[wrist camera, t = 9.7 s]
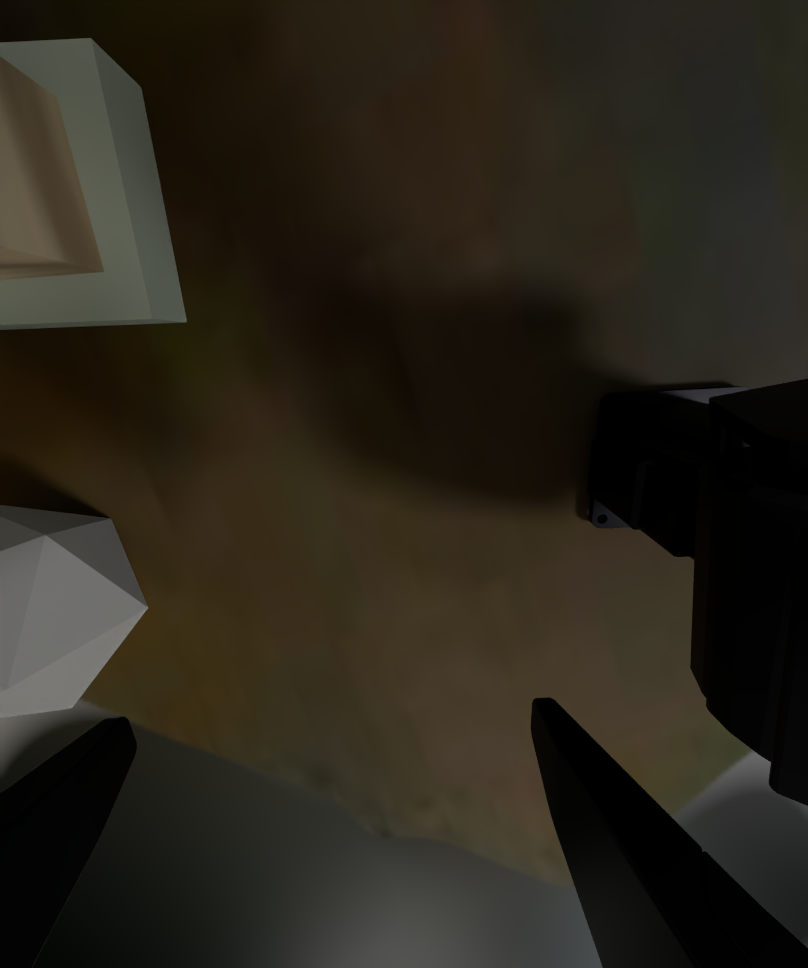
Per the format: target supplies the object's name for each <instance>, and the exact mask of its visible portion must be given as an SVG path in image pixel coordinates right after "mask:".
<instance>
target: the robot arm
mask: <svg viewBox="0 0 808 968" xmlns="http://www.w3.org/2000/svg"><path fill="white" fill-rule="evenodd" d="M613 400H616V401H617V405H616V407H615V408H614V409H610V403H611V402H612V401H613ZM587 491H588V493H589V494H590V495H591V498H590V507H589V521H590V522H591V523H592V524H593V525H594V526H595V527H597V528H621V527H631V528H632V529H634V530H641V531H642V532H644V533H645V534H646V535H648V536H649V537H650V538H651V539H653V540H654V541H655V542H656V543H658V544H659V545H660V546H662V547H663V548H664V549H665V550H667V551H668V552H669V553H671V554H672V555H673V556H676V557H686V556H689V557H690V558H692V559H693V560H694V585H693V610H692V636H691V666H690V668H691V670H692V672H693V674H694V677H695V679H696V681H697V683H698V685H699V687H700V689H701V692H702V693H703V695H704V696H705V697H706V707H707V709H708V710H709V712H710V713H711V714H712V715H713V716H714V717H715V718H716V719H717V720H718V721H719V722H720V723H721V724H722V725H723V726H724V727H725V728H726V729H727V730H728V731H729V732H730V733H731V734H733V735H734V736H735V737H737V738H738V739H739V740H741V741H742V742H743V743H744V744H746V745H747V746H748V747H750V748H751V749H752V750H754V751H755V752H756V753H758V754H759V755H761V756H762V757H764V758H765V759H767V760H768V761H770V762H771V768H770V775H769V785H770V786H771V788H772V789H773V790H774V791H775V792H776V793H778V794H780V795H782V796H785V797H788V798H790V799H792V800H795V801H798V802H800V803H802V804H805V805H807V806H808V379H804V380H798V381H793V382H788V383H783V384H777V385H772V386H767V387H762V388H756V389H751V390H750V389H749V388H746V387H739V386H729V387H710V388H690V389H671V390H652V391H633V392H614V393H609V394H607V395H605V396H604V397H603V398H602V400H601V403H600V410H599V419H598V429H597V438H596V439H595V440H594V441H593V442H592V447H591V457H590V467H589V477H588V487H587ZM602 514H604V517H603V518H602V519H601V520H599V521H598V520H597V518H598V516H600V515H602ZM531 734H532V739H533V743H534V748H535V752H536V756H537V760H538V764H539V768H540V773H541V777H542V781H543V785H544V789H545V793H546V797H547V802H548V806H549V809H550V813H551V817H552V820H553V823H554V827H555V830H556V833H557V836H558V839H559V842H560V844H561V847H562V850H563V853H564V856H565V859H566V862H567V865H568V868H569V871H570V874H571V876H572V879H573V882H574V885H575V888H576V891H577V894H578V897H579V899H580V902H581V906H582V908H583V911H584V914H585V917H586V920H587V923H588V926H589V929H590V931H591V935H592V937H593V940H594V943H595V946H596V949H597V952H598V955H599V958H600V961H601V963H602V967H603V968H808V948H807V947H806V946H805V945H803V944H802V943H801V942H800V941H799V940H798V939H797V938H796V937H794V935H792V934H791V933H790V932H789V931H788V930H787V929H786V928H785V927H784V926H782V925H781V924H780V923H779V922H778V921H777V920H776V919H775V918H774V917H773V916H772V915H771V914H769V913H768V912H767V911H766V910H765V909H764V908H763V907H762V906H761V905H759V903H758V902H757V901H756V900H755V899H754V898H752V897H751V896H750V895H749V894H748V893H747V892H746V891H745V890H744V889H743V888H742V887H741V886H740V885H739V884H738V883H737V882H736V881H735V880H734V879H733V878H732V877H731V876H730V875H729V874H728V873H727V872H726V871H725V870H724V869H723V868H722V867H721V866H720V865H719V864H718V863H717V862H716V861H715V860H714V859H713V858H712V857H711V856H710V855H709V854H708V853H707V852H705V851H704V852H702V848H701V846H700V845H698V843H697V842H695V840H694V839H693V838H692V837H691V836H690V835H689V834H687V832H685V830H684V829H683V828H682V827H681V826H680V825H679V824H678V823H677V822H676V821H675V820H674V819H673V818H672V817H671V816H670V815H669V814H668V813H667V812H666V811H665V810H664V809H663V808H662V807H661V806H660V805H659V804H658V803H657V802H656V801H655V800H654V799H653V798H652V797H651V796H650V795H649V794H648V793H647V792H646V791H645V790H644V789H643V788H642V787H641V786H640V785H639V784H638V783H637V782H636V781H635V780H634V779H633V778H632V777H631V776H630V775H629V774H628V773H627V772H626V771H625V770H624V769H623V768H622V767H621V766H620V765H619V764H618V763H617V762H616V761H615V760H614V759H613V758H612V757H611V756H610V755H609V754H608V753H607V752H606V751H605V750H604V749H603V748H602V747H601V746H600V745H599V744H598V743H597V742H596V741H595V740H594V739H593V738H592V737H591V736H590V735H589V734H588V733H587V732H586V731H585V730H584V729H583V728H582V727H581V726H580V725H579V724H578V723H577V722H576V721H575V720H574V719H573V718H572V717H571V716H570V715H569V714H568V713H567V712H566V711H565V710H564V709H563V708H562V707H561V706H560V705H559V704H558V703H557V702H556V701H555V700H554V699H552V698H535V699H534V700H533V702H532V715H531ZM136 749H137V743H136V739H135V737H134V734H133V731H132V728H131V725H130V722H129V720H128V719H127V718H126V717H108V718H105V719H103V720H102V721H100V722H99V723H97V724H96V725H95V726H93V727H92V728H90V729H89V730H87V731H86V732H85V733H84V734H82V735H80V736H79V737H78V738H76V739H75V740H74V741H72V742H71V743H70V744H68V745H67V746H65V747H64V748H62V749H61V750H60V751H58V752H57V753H55V754H54V755H52V756H51V757H50V758H48V759H47V760H45V761H44V762H43V763H41V764H40V765H39V766H37V767H36V768H34V769H33V770H32V771H30V772H29V773H27V774H26V775H25V776H23V777H22V778H20V779H19V780H17V781H16V782H15V783H13V784H12V785H10V786H9V787H8V788H6V789H5V790H3V791H2V792H1V793H0V968H32V966H33V965H34V963H35V961H36V959H37V957H38V955H39V953H40V951H41V949H42V947H43V945H44V943H45V942H46V940H47V938H48V936H49V934H50V932H51V930H52V928H53V926H54V924H55V922H56V921H57V919H58V917H59V915H60V913H61V911H62V909H63V907H64V905H65V903H66V901H67V899H68V898H69V896H70V894H71V892H72V890H73V888H74V886H75V884H76V882H77V880H78V879H79V877H80V874H81V873H82V871H83V869H84V867H85V865H86V863H87V861H88V859H89V857H90V856H91V854H92V852H93V850H94V848H95V846H96V844H97V841H98V839H99V838H100V836H101V833H102V831H103V829H104V827H105V825H106V823H107V820H108V818H109V816H110V813H111V810H112V808H113V806H114V804H115V801H116V799H117V797H118V794H119V792H120V790H121V787H122V785H123V783H124V780H125V778H126V776H127V773H128V771H129V768H130V766H131V764H132V762H133V759H134V757H135V754H136Z"/></svg>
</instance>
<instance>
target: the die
mask: <svg viewBox="0 0 808 968" xmlns="http://www.w3.org/2000/svg"><path fill="white" fill-rule="evenodd" d="M147 609H148V606H147V604H146V602H145V599H144V597H143V594H142V592H141V589H140V587H139V585H138V582H137V580H136V577H135V575H134V573H133V570H132V568H131V565H130V563H129V561H128V558H127V556H126V553H125V551H124V548H123V546H122V544H121V541H120V539H119V536H118V534H117V532H116V529H115V527H114V524H113V522H112V520H111V518H103V517H95V516H87V515H79V514H70V513H62V512H54V511H46V510H38V509H30V508H22V507H14V506H5V505H0V718H4V717H12V716H19V715H26V714H34V713H40V712H49V711H56V710H63V709H71V708H72V707H73V706H74V705H75V703H76V702H77V701H78V699H79V698H80V697H81V696H82V694H83V693H84V692H85V690H86V689H87V688H88V686H89V685H90V684H91V682H92V681H93V680H94V678H95V677H96V676H97V674H98V673H99V672H100V670H101V669H102V668H103V667H104V665H105V664H106V663H107V661H108V660H109V659H110V657H111V656H112V655H113V653H114V652H115V651H116V649H117V648H118V647H119V645H120V644H121V643H122V642H123V640H124V639H125V638H126V636H127V635H128V634H129V632H130V631H131V630H132V628H133V627H134V626H135V624H136V623H137V622H138V620H139V619H140V618H141V617H142V615H143V614H144V613H145V611H146V610H147Z"/></svg>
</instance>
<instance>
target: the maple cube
mask: <svg viewBox="0 0 808 968" xmlns="http://www.w3.org/2000/svg"><path fill="white" fill-rule="evenodd" d="M97 272H104V268H103V265H102V261H101V257H100V254H99V250H98V246H97V243H96V239H95V235H94V232H93V228H92V225H91V221H90V217H89V214H88V210H87V206H86V203H85V199H84V195H83V192H82V188H81V184H80V181H79V177H78V173H77V170H76V166H75V162H74V159H73V155H72V152H71V148H70V144H69V141H68V137H67V133H66V130H65V126H64V122H63V119H62V115H61V111H60V108H59V104H58V100H57V97H56V96H54V95H53V94H51V93H50V92H49V91H47V90H46V89H45V88H43V87H42V86H40V85H39V84H38V83H36V82H35V81H33V80H32V79H31V78H29V77H28V76H27V75H25V74H24V73H22V72H21V71H20V70H18V69H17V68H16V67H14V66H13V65H11V64H10V63H9V62H7V61H6V60H5V59H3V58H2V57H0V280H6V279H19V278H32V277H45V276H58V275H71V274H84V273H97Z"/></svg>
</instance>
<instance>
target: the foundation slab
mask: <svg viewBox="0 0 808 968" xmlns="http://www.w3.org/2000/svg"><path fill="white" fill-rule="evenodd" d="M0 57H2V58H3V59H5V60H6V61H7V62H9V63H10V64H11V65H13V66H14V67H16V68H17V69H18V70H20V71H21V72H22V73H24V74H25V75H27V76H28V77H29V78H31V79H32V80H33V81H35V82H36V83H38V84H39V85H40V86H42V87H43V88H45V89H46V90H47V91H49V92H50V93H51V94H53V95H54V96H56V97H57V100H58V104H59V108H60V111H61V115H62V119H63V122H64V126H65V130H66V133H67V137H68V141H69V144H70V148H71V152H72V155H73V159H74V162H75V166H76V170H77V173H78V177H79V181H80V184H81V188H82V192H83V195H84V199H85V203H86V206H87V210H88V214H89V217H90V221H91V225H92V228H93V232H94V235H95V239H96V243H97V246H98V250H99V254H100V257H101V261H102V265H103V268H104V272H97V273H84V274H71V275H58V276H45V277H32V278H19V279H6V280H0V330H11V329H36V328H60V327H84V326H109V325H133V324H157V323H182V322H187V320H186V315H185V309H184V304H183V299H182V294H181V289H180V284H179V279H178V274H177V268H176V263H175V258H174V253H173V248H172V243H171V238H170V232H169V227H168V222H167V217H166V212H165V207H164V202H163V197H162V191H161V186H160V181H159V176H158V171H157V166H156V161H155V156H154V150H153V145H152V140H151V135H150V130H149V125H148V120H147V114H146V109H145V104H144V99H143V94H142V89H141V87H140V86H139V85H138V84H137V83H136V82H135V81H134V80H133V79H132V78H131V77H130V76H129V75H128V74H127V73H126V72H125V71H124V70H123V69H122V68H121V67H120V66H119V65H118V64H117V63H116V62H115V61H114V60H113V59H112V58H111V57H110V56H109V55H108V54H107V53H106V52H105V51H104V50H102V49H101V48H100V47H99V46H98V45H97V44H96V43H95V42H94V41H93V40H92V39H91V38H84V39H63V40H42V41H22V42H1V43H0Z"/></svg>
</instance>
